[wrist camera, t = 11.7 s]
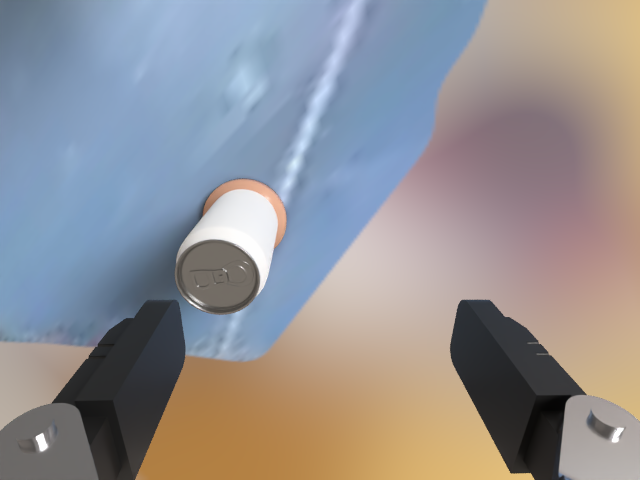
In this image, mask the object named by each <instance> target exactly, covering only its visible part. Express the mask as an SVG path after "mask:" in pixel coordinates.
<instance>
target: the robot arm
mask: <svg viewBox="0 0 640 480" xmlns="http://www.w3.org/2000/svg"><path fill="white" fill-rule="evenodd" d="M450 353H451V359H452V362H453V365H454V367H455V369H456V371H457V373H458V375H459V376H460V379H461V380H462V382H463V384H464V386H465V388H466V390H467V392H468V394H469V395H470V397H471V399H472V401H473V403H474V405H475V407H476V409H477V411H478V413H479V414H480V416H481V418H482V420H483V422H484V424H485V426H486V428H487V430H488V431H489V433H490V435H491V437H492V439H493V441H494V443H495V445H496V446H497V448H498V450H499V452H500V454H501V456H502V458H503V460H504V461H505V463H506V465H507V467H508V469H509V471H510V473H531V474H532V476H533V477H534V479H535V480H640V421H639V420H638V419H636V418H635V417H634V416H633V415H632V414H630V413H629V412H628V411H626V410H625V409H623V408H621V407H620V406H618V405H616V404H614V403H612V402H610V401H607V400H605V399H602V398H598V397H595V396H589V395H586V393H585V392H584V391H583V390H582V389H581V388H580V387H579V386H578V385H577V383H576V382H575V381H574V380H573V379H572V378H571V377H570V376H569V375H568V373H566V371H565V370H564V369H563V368H562V367H561V366H560V365H559V364H558V363H557V361H556V360H555V359H554V358H553V357H552V356H550V355H549V354H548V352H547V350H546V349H545V348H544V347H543V346H542V345H541V344H539V343H538V340H537V339H536V338H535V337H534V336H533V335H532V334H531V333H530V332H529V330H527V328H525V327H524V326H522V325H521V324H519V323H518V322H516V321H514V320H513V319H511V318H510V317H504V316H503V314H502V313H501V312H500V311H499V310H498V308H497V307H495V305H494V304H493V303H492V302H491V301H490V300H461V301H460V303H459V305H458V309H457V313H456V318H455V324H454V329H453V334H452V339H451V344H450ZM184 360H185V340H184V333H183V327H182V320H181V313H180V307H179V303H178V302H177V300H147V301H146V302H145V303H144V305H143V306H142V307H141V309H140V310H139V312H138V313H137V314H136V316H135V317H134V318H126V319H124V320H123V321H121V322H120V323H119V324H117V325H116V326H114V327H113V328H111V329H110V330H109V331H108V332H107V333H106V335H105V336H104V337H103V338H102V340H101V341H100V342H99V343H98V347H95V349H94V350H93V351H92V353H91V354H90V355H89V358H88V359H86V360H85V361H84V363H83V364H82V365H81V366H80V368H79V369H78V370H77V372H76V373H75V374H74V375H73V377H72V378H71V379H70V380H69V382H68V383H67V384H66V385H65V387H64V388H63V389H62V390H61V392H60V393H59V394H58V396H57V397H56V398H55V399H54V401H53V402H52V403H51V404H48V405H44V406H40V407H37V408H35V409H32V410H30V411H28V412H26V413H24V414H22V415H21V416H19V417H17V418H16V419H14V420H13V421H11V422H10V423H9V424H7V425H6V426H5V427H4V428H3V429H2V430H1V431H0V480H135V478H136V476H137V474H138V471H139V469H140V467H141V464H142V462H143V460H144V457H145V455H146V452H147V450H148V448H149V445H150V443H151V441H152V438H153V436H154V434H155V431H156V429H157V426H158V424H159V422H160V420H161V417H162V415H163V412H164V410H165V408H166V405H167V403H168V401H169V398H170V396H171V394H172V391H173V389H174V387H175V384H176V382H177V379H178V377H179V375H180V372H181V370H182V368H183V364H184Z"/></svg>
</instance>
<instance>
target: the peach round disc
mask: <svg viewBox="0 0 640 480" xmlns="http://www.w3.org/2000/svg"><path fill="white" fill-rule="evenodd" d="M237 189H246V190H251V191H254V192H257V193H259V194H261V195H262V196H264V197H265V198H266V199H267V200H268V201H269V202H270V203H271V204H272V206H273V208H274V210H275V212H276V215H277V219H278V228H277V234H276V239H275V244H274V248H276V247H277V245H278V244H279V243H280V241H281V240H282V238H283V236H284V233H285V229H286V221H287V217H286V211H285V207H284V205H283V202H282V201H281V199H280V197H279V196H278V195H277V194H276V192H275V191H274V190H272V189H271V188H270V187H269V186H267V185H265V184H264V183H261V182H259V181H256V180H252V179H244V178H242V179H234V180H230V181H228V182H225V183H223V184H222V185H220V186H219V187H217V188H216V189H215V190H214V191H213V192H212V194H211V195H210V196H209V198H208V199H207V201H206V203H205V206H204V210H203V216H204V215H205V214H206V212H207V211H208V210H209V209H210V207H211V206H212V205H213V204H214V203H215V202H216V200H217V199H218V198H219V197H221V196H222V195H223V194H225V193H227V192H229V191H232V190H237Z"/></svg>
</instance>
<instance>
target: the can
mask: <svg viewBox="0 0 640 480" xmlns="http://www.w3.org/2000/svg"><path fill="white" fill-rule="evenodd" d="M277 228H278V219H277V215H276V212H275V210H274V208H273V206H272V204H271V203H270V202H269V201H268V200H267V199H266V198H265V197H264V196H262V195H261V194H259V193H257V192H254V191H251V190H246V189H237V190H232V191H229V192H227V193H225V194H223V195H222V196H221V197H219V198H218V199H217V200H216V202H215V203H214V204H213V205H212V206H211V207H210V209H209V210H208V211H207V212H206V214H205V215H204V216H203V217H202V218H201V220H200V221H199V222H198V223H197V225H196V226H195V227H194V228H193V230H192V231H191V232H190V233H189V235H188V236H187V237H186V239H185V240H184V242H183V243H182V245H181V247H180V249H179V251H178V254H177V259H176V267H175V281H176V285H177V288H178V290H179V292H180V293H181V295H182V296H183V297H184V299H185V300H186V301H187V302H188V303H190V304H191V305H192V306H194V307H195V308H197V309H199V310H201V311H204V312H207V313H211V314H218V315H224V314H231V313H235V312H237V311H240V310H242V309H243V308H245V307H246V306H248V305H249V304H250V303H251V302H252V301H253V300H254V298H255V297H256V296H257V295H258V294H259V293H260V292H261V290H262V289H263V287H264V285H265V283H266V280H267V277H268V273H269V269H270V264H271V259H272V254H273V249H274V244H275V239H276V234H277Z"/></svg>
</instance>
